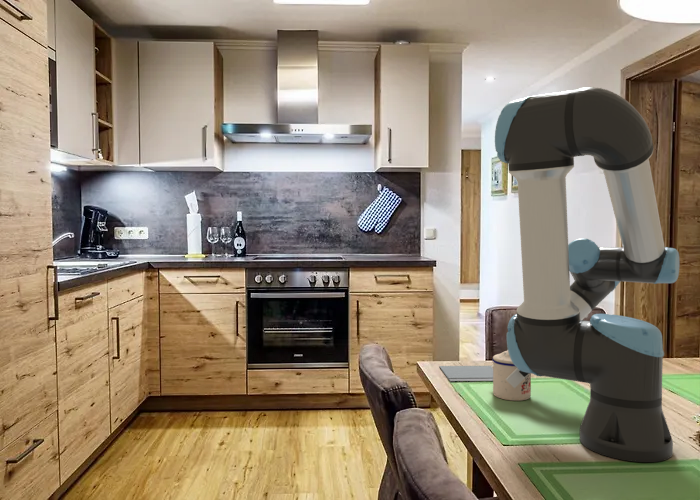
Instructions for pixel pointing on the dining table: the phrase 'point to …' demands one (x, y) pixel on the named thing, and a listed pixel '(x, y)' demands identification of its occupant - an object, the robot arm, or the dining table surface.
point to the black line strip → (469, 380)
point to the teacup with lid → (502, 386)
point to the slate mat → (468, 372)
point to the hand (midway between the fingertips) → (502, 377)
